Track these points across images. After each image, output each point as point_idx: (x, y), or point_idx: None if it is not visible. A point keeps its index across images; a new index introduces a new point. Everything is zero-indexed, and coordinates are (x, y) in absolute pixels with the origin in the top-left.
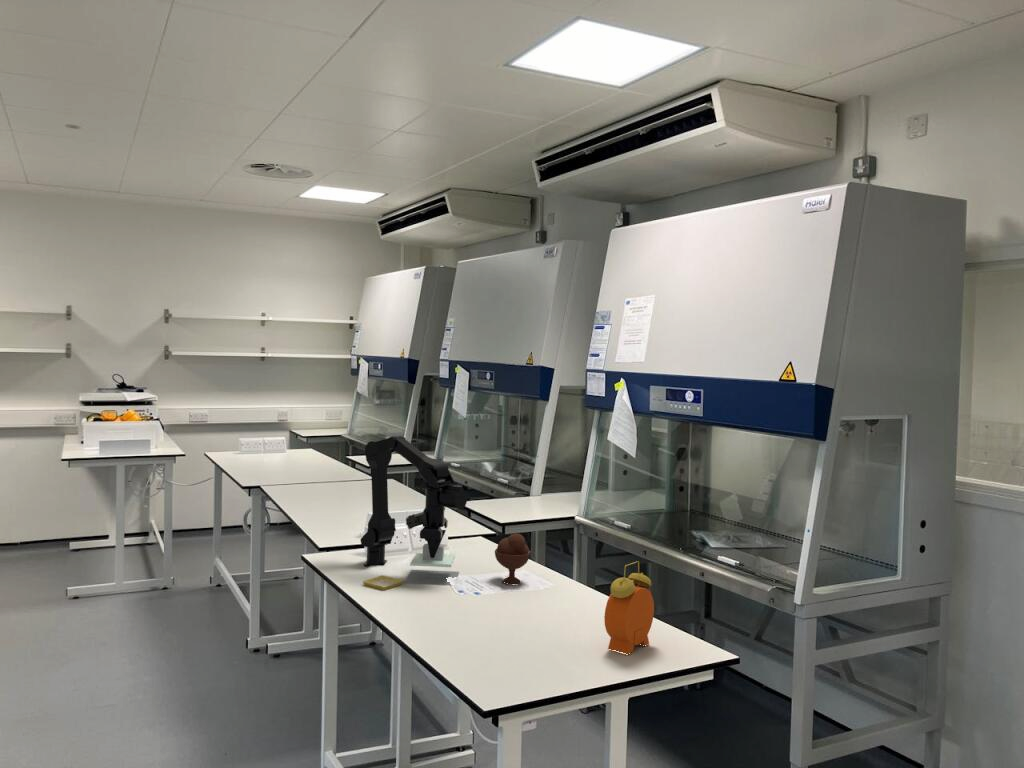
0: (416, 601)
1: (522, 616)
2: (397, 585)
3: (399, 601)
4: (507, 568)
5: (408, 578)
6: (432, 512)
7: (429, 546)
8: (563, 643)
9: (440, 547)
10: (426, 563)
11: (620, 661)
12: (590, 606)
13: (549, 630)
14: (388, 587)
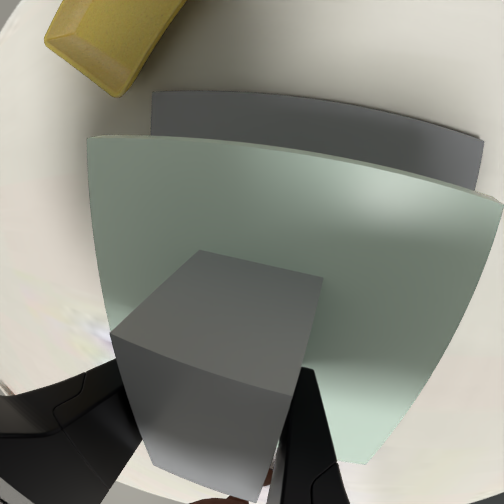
0: (16, 184)
1: (43, 381)
2: (111, 72)
3: (9, 130)
4: (218, 498)
5: (251, 108)
6: None
7: (73, 386)
8: (6, 372)
9: (150, 453)
10: (100, 269)
11: (6, 389)
12: (128, 472)
13: (23, 382)
14: (68, 49)
